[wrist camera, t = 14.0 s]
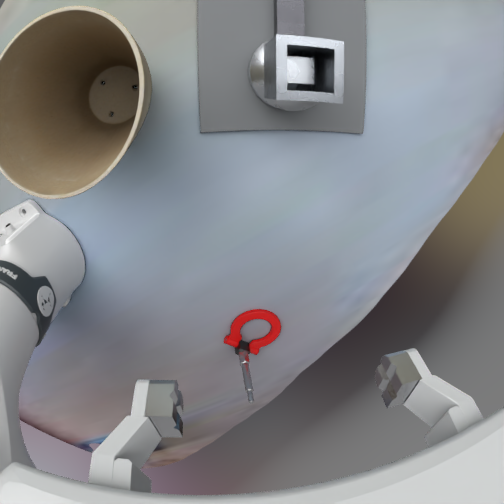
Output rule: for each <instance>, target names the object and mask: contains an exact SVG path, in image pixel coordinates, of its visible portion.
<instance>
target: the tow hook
mask: <svg viewBox="0 0 504 504" xmlns="http://www.w3.org/2000/svg"><path fill="white" fill-rule="evenodd" d="M253 319H264V320H267V321H268V322H269V323H270V324H271V325H272V327H271V331H270V332H269V334H268V335H266V336H265V337H263V338H261V339H257V340H252V341H251V342H250V344H249V343H247V342H244V341H242V340H241V339H242V335H241V334H240V329H241V327H242V326H243V324H245V323H246V322H248V321H250V320H253ZM280 331H281V324H280V321H279V319H278V317H277V316H276V315H275V314H274V313H272V312H270V311H267V310H262V309H256V310H250V311H247V312H244V313H242V314H241V315H239V316H238V317H237V318H236V319H235V320H234V321H233V323H232V325H231V334H230V335H229V336H226V337H225V338H224V343H225V344H228V345H231V346H233V347H235V353H236V354H237V355H239V360H240V366H242V372H243V378H244V384H245V391H246V393H247V394H248V400H249V403H254V399H253V393H252V392H253V386H252V380H251V375H250V369H249V357H248V354H249V353H253V354H255V355H257V354H258V352H259V349H260V348H261V347H263V346H266V345H268V344H270V343H271V342H273V341H274V340H275V339H276V338H277V337H278V335H279V333H280Z"/></svg>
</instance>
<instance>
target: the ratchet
mask: <svg viewBox="0 0 504 504" xmlns="http://www.w3.org/2000/svg"><path fill="white" fill-rule="evenodd" d="M276 34H280V35H294V36H305V22H304V0H274V36H275V35H276ZM272 38H273V37H272ZM272 38H270V39H268V40H267V41H265V42H264V43H263V44H262V45H261V46H260V47H259V48H258V49H257V50H256V51H255V52H254V54H253V55H252V57H251V59H250V62H249V66H248V78H249V82H250V85H251V87H252V89H253V91H254V92H255V94H256V95H257V96H258V97H259V98H260V99H261V100H262V101H264V102H265V103H267V104H268V105H270V106H273V107H275V108H279V109H282V110H287V111H300V110H305V109H308V108H310V107H312V106H314V105H316V104H317V103H319V102H314V101H294V100H273V99H267V98H264V45H265V44H266V43H267V42H268V41H269V40H271V39H272ZM311 84H314V58H311V56H303V55H288V54H287V90H294V91H311Z"/></svg>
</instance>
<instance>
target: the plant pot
mask: <svg viewBox="0 0 504 504" xmlns="http://www.w3.org/2000/svg"><path fill="white" fill-rule="evenodd" d="M102 81H104V82H105V84H104V85H102V83H101V82H102ZM134 85H137V88H136V89H135V88H133V86H134ZM151 93H152V82H151V74H150V70H149V67H148V64H147V61H146V59H145V56H144V54H143V52H142V51H141V49H140V47H139V46H138V44H137V42H136V41H135V39H134V38H133V36H132V35H131V34H130V32H129V31H128V30H127V28H126V27H125V26H124V25H123V24H122V23H121V22H120V21H119V20H118V19H116V18H115V17H114V16H112V15H111V14H109V13H107V12H105V11H102V10H100V9H97V8H93V7H88V6H69V7H63V8H59V9H56V10H53V11H50V12H48V13H46V14H44V15H41V16H39V17H38V18H36V19H35V20H33V21H32V22H30V23H29V24H28V25H26V26H25V27H24V28H23V29H22V30H21V31H19V32H18V33H17V35H16V36H15V37H14V38H13V39H12V40H11V41H10V43H9V44H8V45H7V46H6V48H5V49H4V51H3V52H2V54H1V55H0V171H1V172H2V173H3V175H4V176H5V177H6V178H7V179H8V180H9V181H10V182H11V183H12V184H14V185H15V186H16V187H18V188H19V189H21V190H22V191H24V192H26V193H28V194H31V195H33V196H37V197H40V198H46V199H61V198H67V197H71V196H75V195H77V194H80V193H82V192H85V191H86V190H88V189H90V188H91V187H93V186H94V185H96V184H97V183H98V182H100V181H101V180H102V179H103V178H105V177H106V176H107V175H108V174H109V173H110V172H111V171H112V170H113V168H114V167H115V166H116V165H117V163H118V162H119V161H120V160H121V158H122V157H123V155H124V154H125V152H126V151H127V149H128V148H129V146H130V145H131V143H132V142H133V140H134V139H135V137H136V136H137V134H138V132H139V130H140V128H141V126H142V124H143V122H144V120H145V117H146V115H147V112H148V109H149V105H150V101H151ZM112 112H113V116H111V113H112Z"/></svg>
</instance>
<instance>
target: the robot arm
mask: <svg viewBox="0 0 504 504" xmlns="http://www.w3.org/2000/svg"><path fill="white" fill-rule="evenodd" d="M24 209H25V210H26V212H25V211H24ZM84 274H85V260H84V256H83V252H82V250H81V247H80V245H79V243H78V241H77V240H76V238H75V237H74V235H73V234H72V233H71V232H70V230H69V229H68V228H67V227H66V226H65V225H63V224H62V223H61V222H59V221H58V220H56V219H55V218H53V217H51V216H49V215H48V214H46V213H45V212H44V211H43V210H42V209H41V208H40V206H39V205H38V204H37V203H36V202H35V201H33V200H31V199H29V200H27V201H25V202H23V203H21V204H19V205H17V206H15V207H13V208H11V209H9V210H7V211H5V212H4V213H2V214H0V504H504V406H503V407H502V408H500V409H499V410H497V411H496V412H494V413H492V414H491V415H489V416H488V417H486V418H483V417H482V415H481V413H480V411H479V409H478V407H477V406H476V404H475V402H474V400H473V399H472V397H470V396H469V395H467V394H465V393H464V392H462V391H460V390H459V389H457V388H455V387H454V386H452V385H450V384H449V383H447V382H445V381H444V380H442V379H440V378H439V377H437V376H435V375H433V376H432V375H431V373H430V371H429V370H428V368H427V366H426V364H425V363H424V361H423V359H422V358H421V356H420V354H419V353H418V351H417V350H416V349H414V348H412V349H409V350H405V351H400V352H396V353H393V354H388V355H385V356H383V357H382V359H381V363H382V364H381V365H380V366H379V367H378V368H377V370H376V372H375V381H376V384H377V387H378V388H379V389H380V390H382V391H383V394H382V398H383V400H384V402H385V405H386V407H387V408H390V407H394V406H397V405H400V404H404V405H405V406H406V407H407V408H408V409H410V410H411V411H412V412H413V413H414V414H415V415H417V416H418V417H419V418H420V419H422V420H423V421H424V422H425V423H426V424H428V425H429V426H430V427H431V429H430V430H429V431H428V432H427V433H426V434H425V437H424V438H425V440H426V443H427V445H428V448H426V449H424V450H422V451H419V452H417V453H414V454H412V455H410V456H407V457H404V458H402V459H400V460H397V461H394V462H391V463H388V464H385V465H382V466H379V467H377V468H374V469H370V470H367V471H364V472H361V473H357V474H353V475H350V476H346V477H343V478H338V479H334V480H330V481H326V482H321V483H316V484H311V485H306V486H301V487H295V488H289V489H282V490H275V491H268V492H258V493H246V494H231V495H173V494H158V493H151V479H150V478H149V477H147V476H146V475H145V474H144V473H143V472H142V471H141V470H140V469H141V468H142V466H143V465H144V463H145V462H146V461H147V459H148V458H149V456H150V455H151V453H152V452H153V450H154V449H155V448H156V446H157V445H158V443H159V442H160V440H161V439H162V438H161V437H183V422H182V419H181V417H180V416H181V415H182V414H183V398H182V394H181V391H179V390H178V383H177V380H137V382H136V385H135V391H134V397H133V404H132V410H131V416H126V417H125V419H124V420H123V421H122V422H121V423H120V424H119V425H118V426H117V427H116V428H115V429H114V431H113V432H112V433H111V434H110V435H109V436H108V437H107V438H106V439H105V440H104V441H103V443H102V444H101V445H100V446H99V447H98V448H97V449H96V450H95V451H94V452H93V454H92V460H91V466H90V474H89V481H88V483H86V482H81V481H77V480H73V479H69V478H65V477H62V476H58V475H55V474H52V473H48V472H45V471H42V470H39V469H37V468H36V467H35V465H34V463H33V462H32V460H31V458H30V456H29V454H28V451H27V449H26V446H25V444H24V440H23V436H22V432H21V427H20V420H19V393H20V387H21V383H22V380H23V377H24V374H25V371H26V368H27V365H28V363H29V360H30V358H31V355H32V353H33V351H34V348H35V347H36V346H38V345H39V344H40V343H41V341H42V339H43V338H44V337H45V335H46V332H47V330H48V328H49V326H50V324H51V322H52V321H53V319H54V318H55V317H56V315H57V314H58V312H59V311H60V309H61V308H62V307H65V306H67V304H68V303H69V301H70V299H71V294H72V292H73V291H74V290H75V289H76V288H77V287H78V286H79V285H80V284H81V282H82V280H83V278H84Z"/></svg>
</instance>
